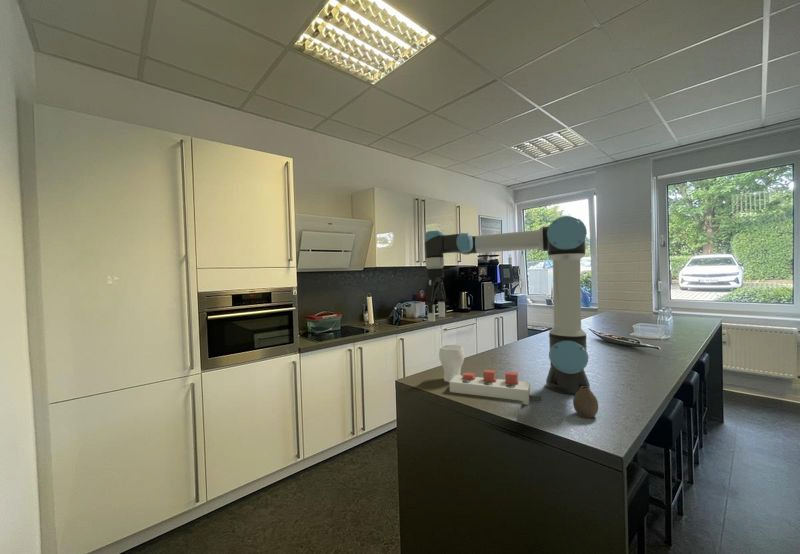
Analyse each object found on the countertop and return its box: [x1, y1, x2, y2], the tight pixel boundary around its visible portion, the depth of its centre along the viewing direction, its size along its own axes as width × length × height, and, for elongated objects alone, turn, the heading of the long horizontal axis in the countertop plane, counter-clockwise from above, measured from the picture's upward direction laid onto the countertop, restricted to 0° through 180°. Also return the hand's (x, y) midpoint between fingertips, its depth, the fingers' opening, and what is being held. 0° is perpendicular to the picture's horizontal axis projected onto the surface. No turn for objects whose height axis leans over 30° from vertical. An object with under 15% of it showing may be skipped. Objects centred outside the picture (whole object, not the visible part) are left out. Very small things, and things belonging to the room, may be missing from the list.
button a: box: [504, 371, 519, 385], centre depth 119 cm, size 4×3×4 cm
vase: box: [572, 386, 599, 419], centre depth 101 cm, size 7×7×9 cm
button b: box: [482, 369, 497, 382], centre depth 123 cm, size 4×3×4 cm
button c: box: [462, 372, 476, 380], centre depth 126 cm, size 4×3×4 cm
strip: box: [448, 374, 542, 405], centre depth 120 cm, size 32×9×5 cm, turn 65°
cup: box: [438, 344, 465, 383], centre depth 137 cm, size 11×11×15 cm
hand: (437, 318), depth 134 cm, fingers open, 13 cm apart
